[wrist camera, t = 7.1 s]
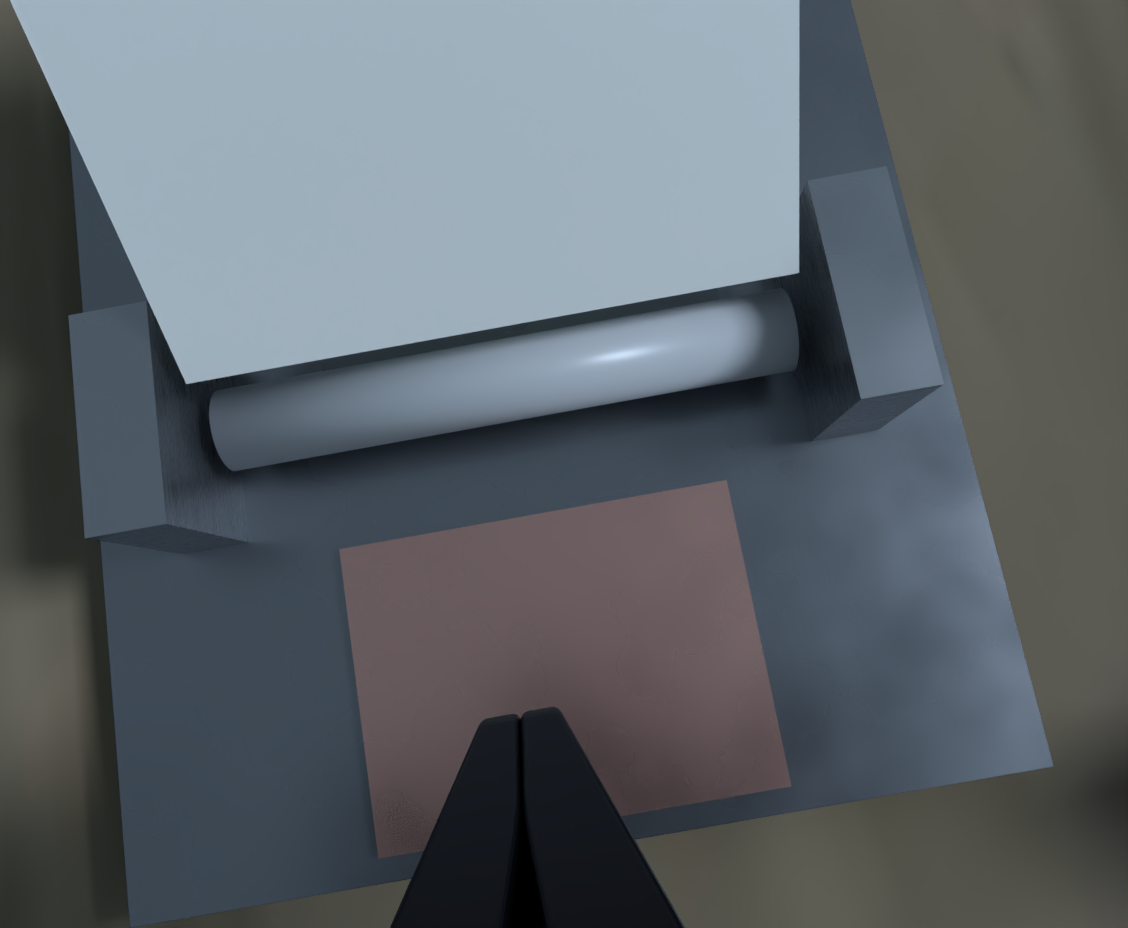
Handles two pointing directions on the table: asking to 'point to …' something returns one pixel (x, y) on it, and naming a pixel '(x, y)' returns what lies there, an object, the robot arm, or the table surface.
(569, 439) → the blue-grey base plate
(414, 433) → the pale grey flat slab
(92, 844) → the table surface
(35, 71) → the table surface
